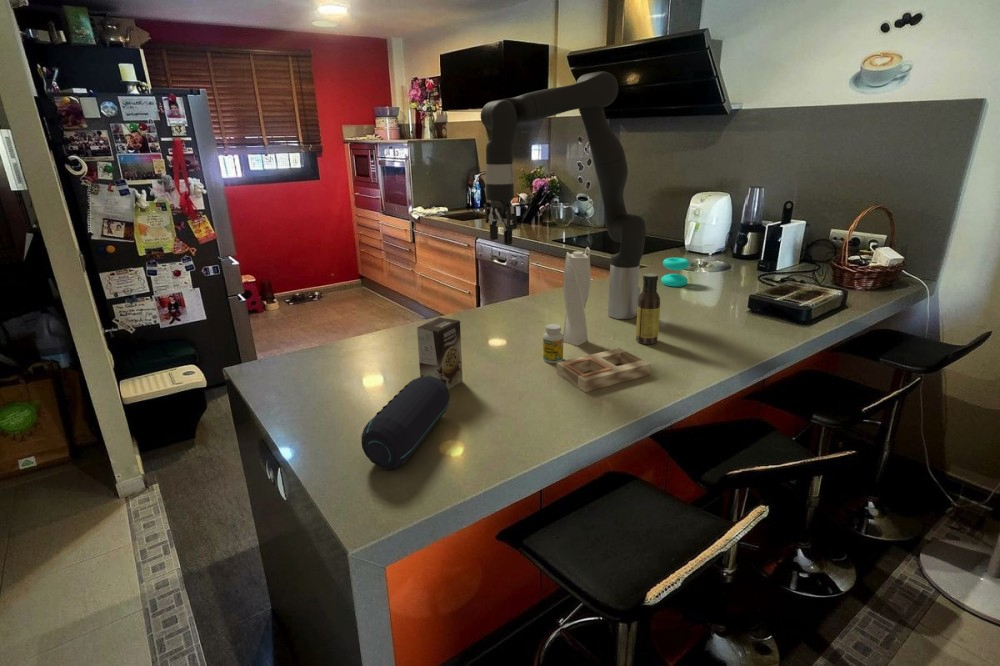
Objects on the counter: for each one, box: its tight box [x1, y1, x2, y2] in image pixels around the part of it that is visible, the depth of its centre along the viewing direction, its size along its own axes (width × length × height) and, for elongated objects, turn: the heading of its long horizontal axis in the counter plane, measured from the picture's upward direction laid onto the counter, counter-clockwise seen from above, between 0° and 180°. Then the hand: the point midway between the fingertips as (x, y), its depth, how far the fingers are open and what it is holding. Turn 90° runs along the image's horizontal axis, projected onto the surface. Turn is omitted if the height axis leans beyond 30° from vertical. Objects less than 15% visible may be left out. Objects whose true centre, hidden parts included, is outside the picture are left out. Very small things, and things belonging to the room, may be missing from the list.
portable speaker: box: [361, 376, 450, 470], centre depth 105 cm, size 25×10×10 cm, turn 163°
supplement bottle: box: [542, 323, 564, 364], centre depth 142 cm, size 5×5×10 cm
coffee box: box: [416, 317, 464, 391], centre depth 127 cm, size 9×6×16 cm
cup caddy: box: [556, 347, 651, 393], centre depth 134 cm, size 20×12×3 cm, turn 117°
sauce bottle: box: [635, 272, 661, 345], centre depth 152 cm, size 6×6×20 cm
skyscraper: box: [562, 246, 591, 347], centre depth 151 cm, size 8×8×28 cm
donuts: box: [660, 257, 691, 288], centre depth 211 cm, size 10×10×10 cm
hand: (500, 242), depth 148 cm, fingers open, 8 cm apart
